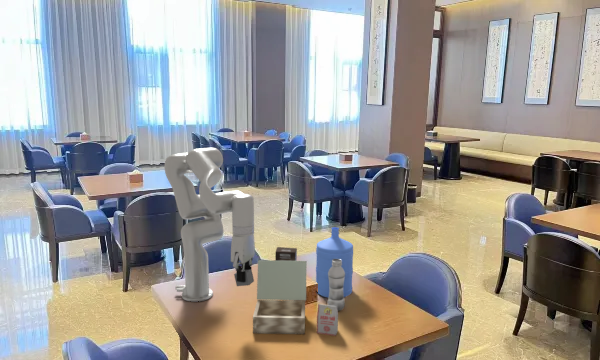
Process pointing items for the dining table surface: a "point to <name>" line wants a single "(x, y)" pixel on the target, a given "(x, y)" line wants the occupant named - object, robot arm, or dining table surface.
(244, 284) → the block
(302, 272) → the lid
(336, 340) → the dining table surface
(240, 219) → the robot arm
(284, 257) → the coffee box
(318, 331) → the tea bag
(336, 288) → the plastic bottle
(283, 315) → the box
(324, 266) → the water jug
